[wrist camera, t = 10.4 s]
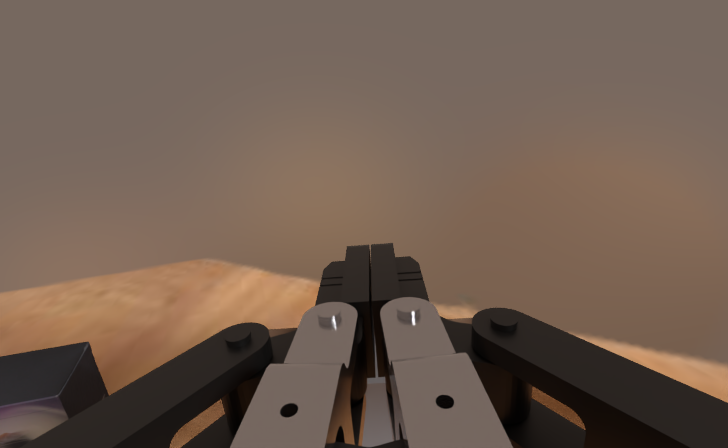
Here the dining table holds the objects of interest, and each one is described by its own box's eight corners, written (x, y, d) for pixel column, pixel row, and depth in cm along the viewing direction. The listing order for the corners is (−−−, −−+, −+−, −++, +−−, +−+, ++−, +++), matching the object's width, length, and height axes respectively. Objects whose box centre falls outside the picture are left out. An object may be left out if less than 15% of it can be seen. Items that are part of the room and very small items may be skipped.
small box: (-56, 532, 29) (-131, 432, 25) (-4, 454, 35) (-58, 363, 31) (100, 492, 32) (55, 395, 28) (125, 425, 37) (91, 337, 33)
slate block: (389, 382, 41) (388, 302, 37) (401, 475, 32) (400, 381, 28) (323, 386, 41) (314, 306, 37) (315, 480, 32) (303, 387, 28)
